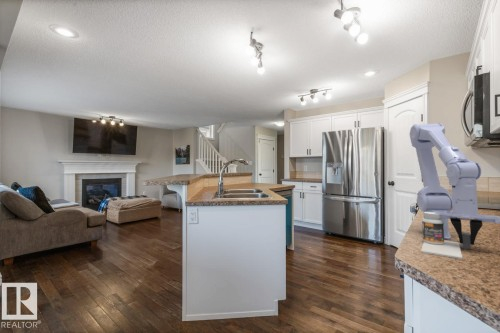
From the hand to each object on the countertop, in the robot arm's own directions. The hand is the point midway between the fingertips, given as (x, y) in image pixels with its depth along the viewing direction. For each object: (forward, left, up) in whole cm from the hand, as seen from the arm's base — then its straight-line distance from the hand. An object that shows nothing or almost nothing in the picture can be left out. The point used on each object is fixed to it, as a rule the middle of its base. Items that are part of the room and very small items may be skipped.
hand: (466, 243), depth 70 cm
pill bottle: (0, -8, -1) cm, 8 cm away
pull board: (+4, -5, -2) cm, 6 cm away
